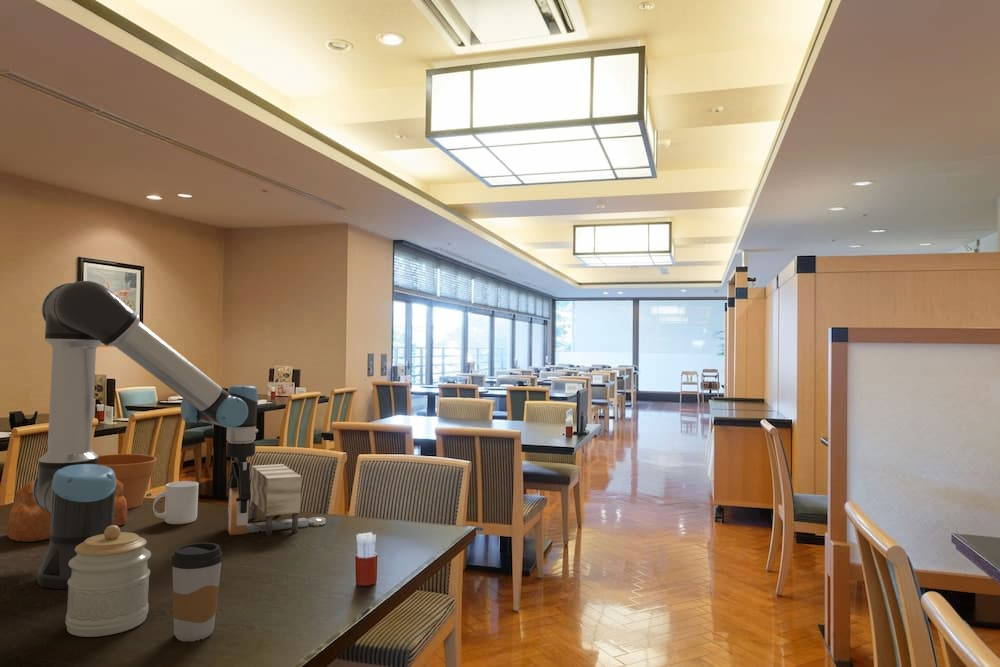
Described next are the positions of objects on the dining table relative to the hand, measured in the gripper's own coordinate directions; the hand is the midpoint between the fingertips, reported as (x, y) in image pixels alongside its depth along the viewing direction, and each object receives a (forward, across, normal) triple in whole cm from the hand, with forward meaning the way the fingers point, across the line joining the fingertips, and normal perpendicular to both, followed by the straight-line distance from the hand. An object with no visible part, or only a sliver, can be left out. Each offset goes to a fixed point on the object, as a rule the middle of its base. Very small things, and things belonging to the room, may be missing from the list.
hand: (237, 519), depth 181 cm
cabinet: (+4, +4, -11) cm, 12 cm away
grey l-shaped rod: (+4, 0, -9) cm, 9 cm away
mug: (+4, +19, +14) cm, 24 cm away
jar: (+4, -53, +31) cm, 61 cm away
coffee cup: (+4, -65, +18) cm, 68 cm away
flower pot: (+4, +47, +28) cm, 55 cm away
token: (+4, 0, -22) cm, 22 cm away
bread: (+4, +21, +39) cm, 45 cm away
